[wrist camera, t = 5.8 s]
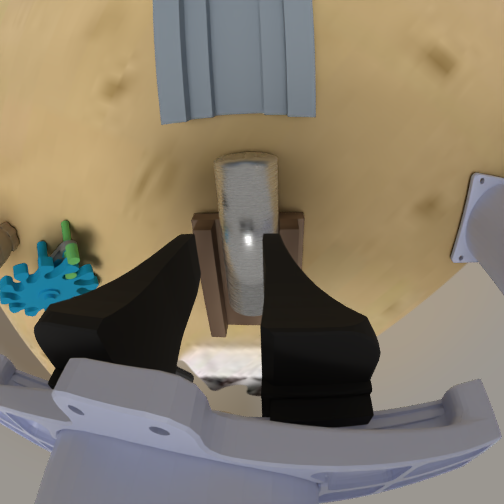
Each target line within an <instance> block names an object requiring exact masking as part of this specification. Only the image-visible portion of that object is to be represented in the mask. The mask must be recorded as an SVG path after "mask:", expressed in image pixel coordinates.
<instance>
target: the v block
mask: <svg viewBox="0 0 504 504" xmlns="http://www.w3.org/2000/svg"><path fill="white" fill-rule="evenodd" d="M153 23H154V44H155V60H156V74H157V86H158V96H159V106H160V116H161V125H163V124H171V123H179V122H187V121H189V120H191V119H199V118H210V117H214V116H216V115H228V114H248V113H264V115H287V116H288V117H316V89H315V47H314V25H313V8H312V0H153Z"/></svg>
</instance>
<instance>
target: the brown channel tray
mask: <svg viewBox="0 0 504 504" xmlns="http://www.w3.org/2000/svg"><path fill="white" fill-rule="evenodd" d="M191 221H192V228H193V234H195V240H196V246H197V252H198V258H199V264H200V270H201V277H200V278H201V284H202V289H203V295H204V300H205V305H206V310H207V315H208V320H209V325H210V330H211V335H212V337H226V334H227V328H228V324H231V325H261V319H262V315H260V316H245V315H241V314H239V313H237V312H236V311H234V310H233V309H232V307H231V306H230V303H229V295H228V288H227V279H226V271H225V263H224V255H223V246H222V237H221V228H220V219H219V213H204V214H194V216H193V218H192V220H191ZM278 233H279V234H280V235H281V238H282V240H283V242H284V244H285V246H286V248H287V250H288V252H289V253H290V255H291V256H292V258H293V259H294V261H295V262H296V263H297V265H298V266H299V267H300V268H301V270H302V253H303V234H304V215H303V212H278Z"/></svg>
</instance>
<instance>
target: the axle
mask: <svg viewBox="0 0 504 504" xmlns="http://www.w3.org/2000/svg"><path fill="white" fill-rule="evenodd" d="M214 171H215V181H216V191H217V201H218V210H219V219H220V228H221V237H222V246H223V255H224V263H225V271H226V279H227V288H228V295H229V303H230V306H231V307H232V309H233V310H234V311H236V312H237V313H239V314H241V315H245V316H260V315H262V312H263V303H264V284H263V247H262V239H263V233H278V160H277V157H276V156H274V155H272V154H268V153H261V152H243V153H234V154H229V155H225V156H222V157H219V158H217V159H216V160H215V161H214Z"/></svg>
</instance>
